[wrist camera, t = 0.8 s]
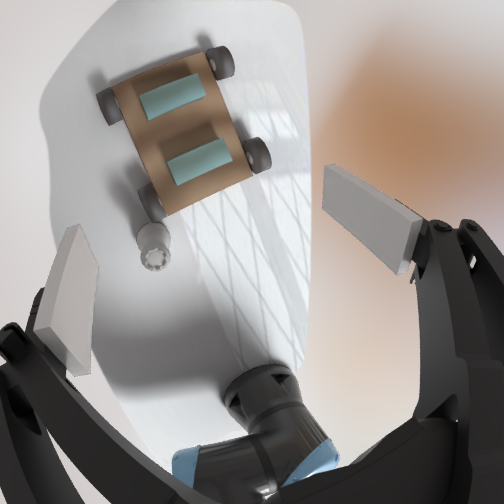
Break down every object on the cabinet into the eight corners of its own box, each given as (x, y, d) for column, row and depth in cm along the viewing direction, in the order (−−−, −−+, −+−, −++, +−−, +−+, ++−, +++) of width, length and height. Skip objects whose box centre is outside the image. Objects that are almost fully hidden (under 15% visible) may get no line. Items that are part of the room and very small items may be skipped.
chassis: (262, 169, 37) (276, 171, 33) (153, 221, 34) (154, 230, 30) (216, 50, 29) (225, 38, 25) (98, 96, 26) (92, 88, 22)
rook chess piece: (129, 240, 34) (126, 262, 27) (152, 214, 34) (153, 230, 27) (155, 261, 36) (158, 287, 29) (177, 236, 36) (185, 257, 29)
